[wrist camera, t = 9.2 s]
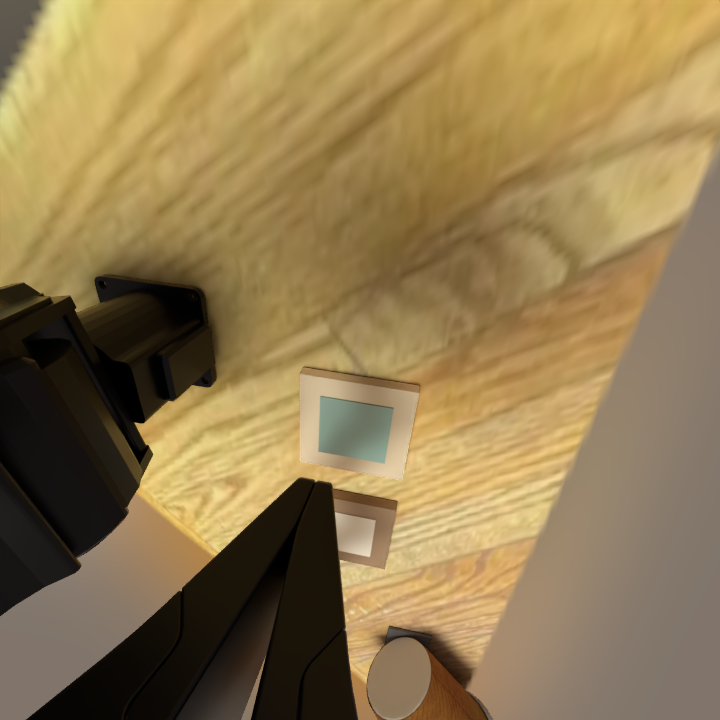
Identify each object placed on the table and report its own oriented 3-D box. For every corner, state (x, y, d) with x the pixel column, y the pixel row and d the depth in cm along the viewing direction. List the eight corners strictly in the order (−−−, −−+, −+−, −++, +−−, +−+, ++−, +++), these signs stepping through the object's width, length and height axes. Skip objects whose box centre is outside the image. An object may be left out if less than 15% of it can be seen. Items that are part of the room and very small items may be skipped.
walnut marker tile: (302, 542, 30) (299, 552, 29) (303, 483, 27) (299, 493, 26) (385, 559, 29) (384, 570, 28) (396, 501, 26) (396, 511, 25)
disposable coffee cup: (343, 654, 35) (398, 729, 38) (361, 779, 26) (434, 866, 29) (424, 599, 36) (473, 676, 39) (470, 700, 27) (530, 792, 30)
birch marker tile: (303, 453, 25) (299, 462, 24) (303, 367, 22) (299, 374, 21) (402, 471, 24) (401, 481, 24) (419, 385, 21) (419, 394, 20)
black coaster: (384, 646, 36) (384, 648, 36) (389, 626, 34) (388, 628, 34) (424, 655, 35) (424, 658, 35) (431, 635, 33) (431, 638, 33)
